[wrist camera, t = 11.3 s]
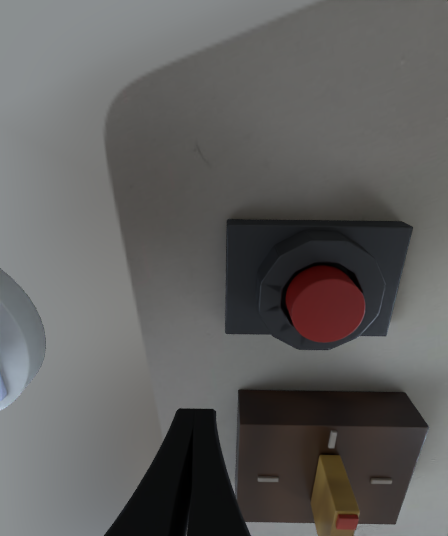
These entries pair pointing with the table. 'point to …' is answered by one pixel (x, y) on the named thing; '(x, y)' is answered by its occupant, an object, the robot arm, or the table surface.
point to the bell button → (324, 304)
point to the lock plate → (324, 451)
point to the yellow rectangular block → (333, 499)
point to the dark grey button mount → (305, 256)
